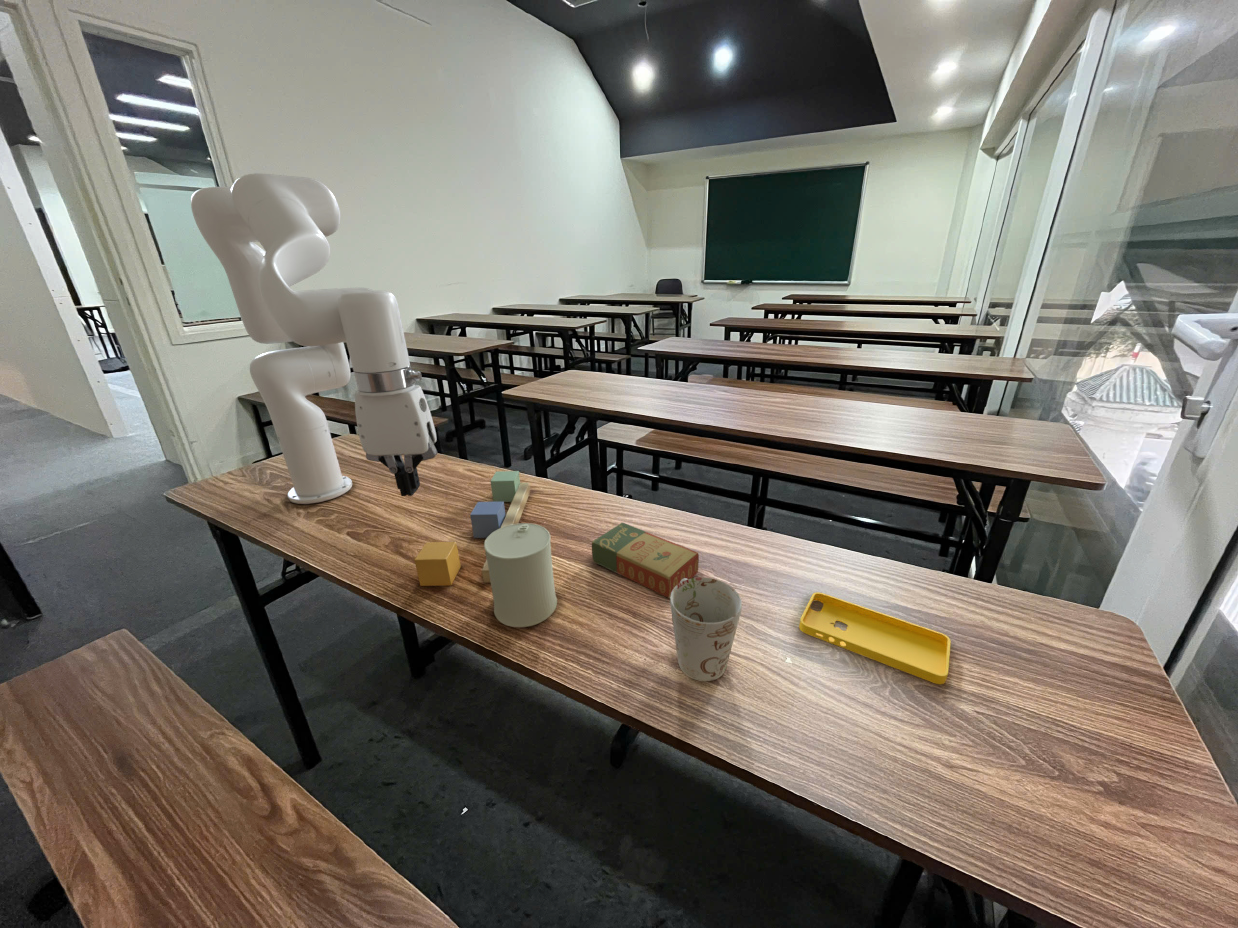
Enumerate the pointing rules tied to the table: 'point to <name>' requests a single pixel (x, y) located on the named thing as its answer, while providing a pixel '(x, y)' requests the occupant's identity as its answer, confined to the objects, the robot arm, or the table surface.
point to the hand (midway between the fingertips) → (410, 492)
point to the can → (521, 574)
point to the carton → (645, 558)
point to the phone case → (879, 637)
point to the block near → (437, 563)
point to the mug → (704, 625)
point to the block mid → (487, 518)
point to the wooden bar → (511, 517)
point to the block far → (505, 485)
